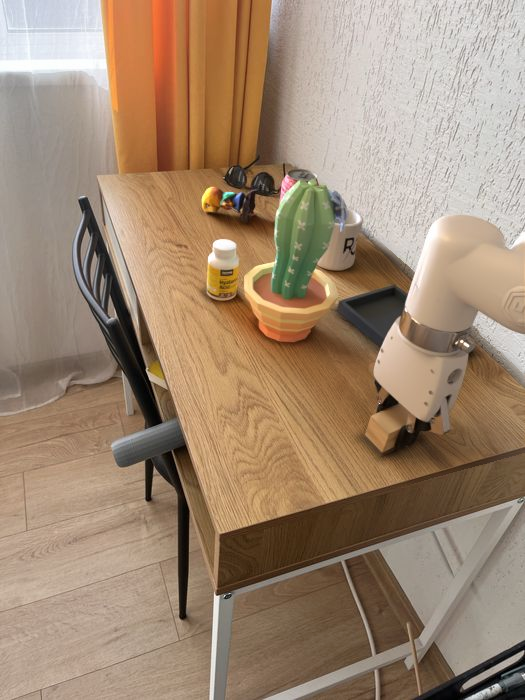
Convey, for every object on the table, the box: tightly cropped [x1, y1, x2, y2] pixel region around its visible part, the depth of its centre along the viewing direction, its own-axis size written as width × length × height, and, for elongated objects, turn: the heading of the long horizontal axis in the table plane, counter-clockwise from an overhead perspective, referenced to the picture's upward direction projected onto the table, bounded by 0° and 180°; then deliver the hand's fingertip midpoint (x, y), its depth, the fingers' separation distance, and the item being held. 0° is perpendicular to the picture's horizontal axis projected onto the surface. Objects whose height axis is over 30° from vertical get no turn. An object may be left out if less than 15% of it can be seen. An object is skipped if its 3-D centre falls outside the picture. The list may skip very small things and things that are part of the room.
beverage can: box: [278, 168, 320, 207], centre depth 114 cm, size 8×8×12 cm
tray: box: [336, 283, 476, 355], centre depth 90 cm, size 20×14×2 cm
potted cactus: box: [243, 179, 348, 343], centre depth 81 cm, size 15×15×25 cm
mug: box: [316, 207, 364, 272], centre depth 106 cm, size 12×9×10 cm
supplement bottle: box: [206, 238, 240, 302], centre depth 92 cm, size 5×5×10 cm
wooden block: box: [363, 402, 421, 457], centre depth 70 cm, size 7×4×4 cm, turn 122°
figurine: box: [201, 186, 258, 225], centre depth 118 cm, size 11×8×6 cm, turn 66°
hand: (393, 433), depth 71 cm, fingers closed on wooden block, 3 cm apart
